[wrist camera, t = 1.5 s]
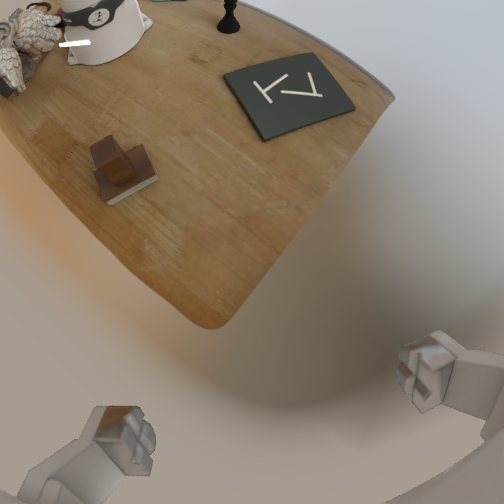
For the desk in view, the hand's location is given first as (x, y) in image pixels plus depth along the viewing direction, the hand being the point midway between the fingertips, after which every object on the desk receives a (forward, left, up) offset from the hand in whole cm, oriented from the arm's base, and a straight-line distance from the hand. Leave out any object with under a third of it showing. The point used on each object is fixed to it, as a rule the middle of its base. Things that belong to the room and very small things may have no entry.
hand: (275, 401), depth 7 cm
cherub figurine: (-64, -21, -22) cm, 71 cm away
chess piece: (-45, +21, -30) cm, 59 cm away
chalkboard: (-25, +23, -30) cm, 46 cm away
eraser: (-22, -6, -30) cm, 38 cm away
